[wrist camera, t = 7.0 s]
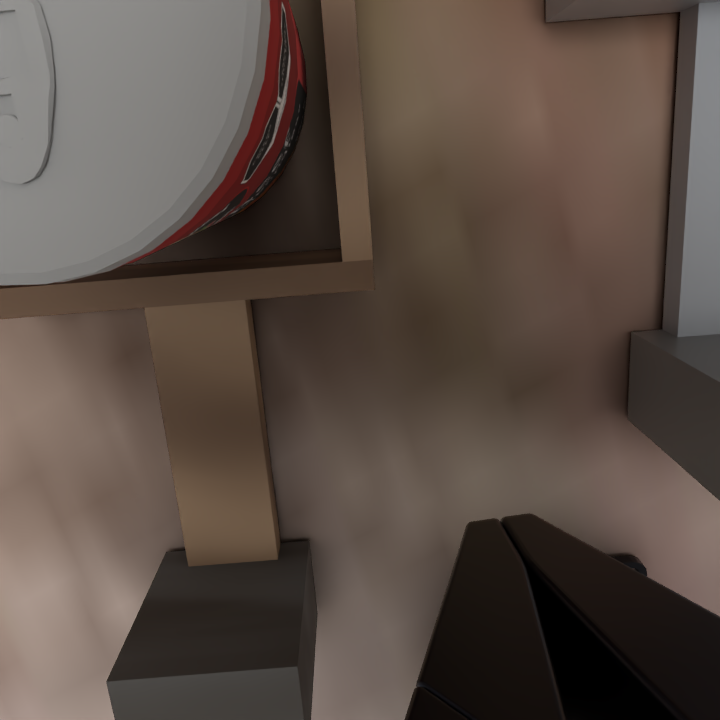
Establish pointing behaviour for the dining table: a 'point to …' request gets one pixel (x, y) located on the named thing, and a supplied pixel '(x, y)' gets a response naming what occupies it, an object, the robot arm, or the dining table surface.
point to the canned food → (137, 125)
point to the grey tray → (682, 250)
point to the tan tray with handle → (227, 451)
